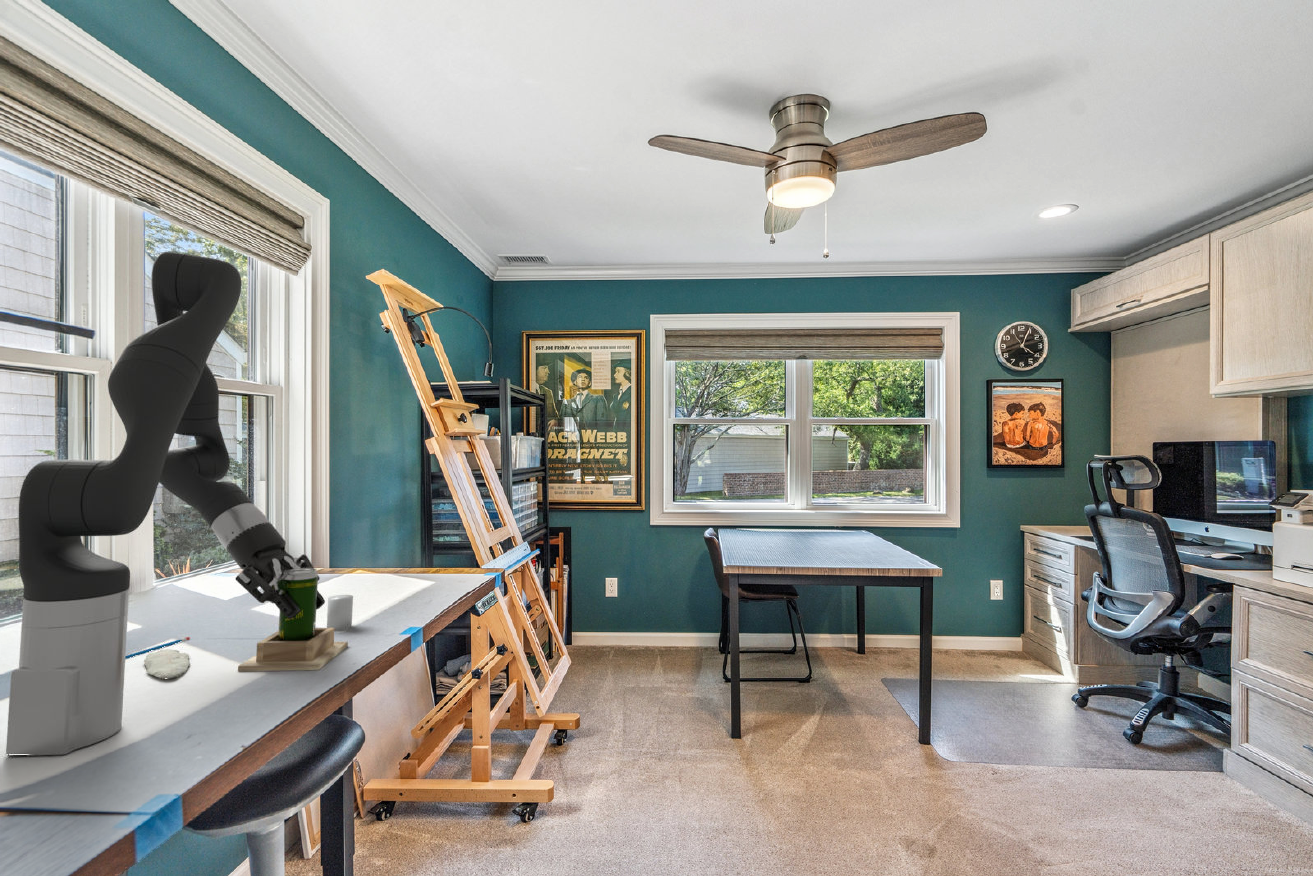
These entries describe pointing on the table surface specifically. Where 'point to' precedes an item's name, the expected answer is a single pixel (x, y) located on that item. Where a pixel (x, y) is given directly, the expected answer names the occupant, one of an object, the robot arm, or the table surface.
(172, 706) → the table surface
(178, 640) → the pencil
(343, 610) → the short post
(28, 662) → the robot arm
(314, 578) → the beer can
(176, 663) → the stone tool
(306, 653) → the socket
